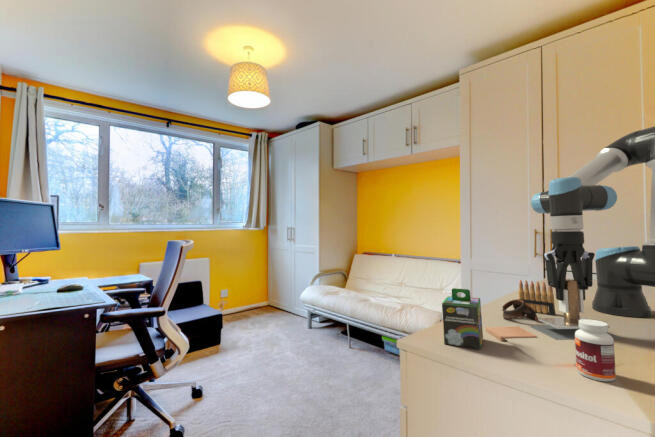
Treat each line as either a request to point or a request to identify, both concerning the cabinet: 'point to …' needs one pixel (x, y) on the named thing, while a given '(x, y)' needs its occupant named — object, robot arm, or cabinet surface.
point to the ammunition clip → (538, 298)
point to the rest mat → (562, 332)
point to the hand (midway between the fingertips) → (571, 311)
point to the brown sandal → (518, 310)
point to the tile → (508, 332)
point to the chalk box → (462, 320)
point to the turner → (573, 303)
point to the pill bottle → (595, 351)
